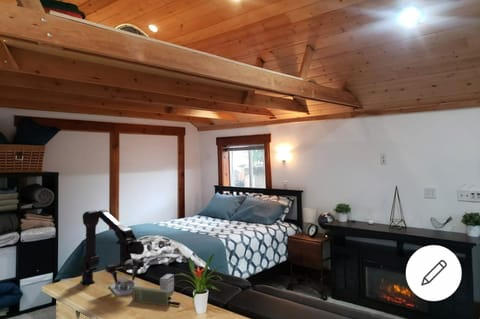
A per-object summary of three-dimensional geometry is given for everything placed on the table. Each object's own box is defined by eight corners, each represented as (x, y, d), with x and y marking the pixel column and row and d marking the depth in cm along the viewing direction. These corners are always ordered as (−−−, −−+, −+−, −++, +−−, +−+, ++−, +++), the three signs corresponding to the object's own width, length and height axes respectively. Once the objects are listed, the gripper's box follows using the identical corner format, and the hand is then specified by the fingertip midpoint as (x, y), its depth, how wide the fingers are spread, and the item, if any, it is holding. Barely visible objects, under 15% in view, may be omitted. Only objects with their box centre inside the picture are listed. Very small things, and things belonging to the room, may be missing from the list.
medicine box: (168, 296, 173) (168, 278, 173) (159, 295, 174) (159, 278, 174) (174, 290, 181) (174, 274, 181) (166, 290, 182) (166, 273, 182)
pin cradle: (109, 287, 186) (109, 280, 186) (131, 282, 193) (131, 276, 193) (117, 296, 173) (117, 289, 173) (141, 291, 180) (141, 284, 180)
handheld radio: (135, 299, 170) (181, 305, 163) (131, 301, 167) (178, 308, 160) (135, 285, 170) (181, 291, 163) (131, 288, 167) (177, 293, 160)
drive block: (116, 286, 185) (116, 279, 185) (125, 283, 188) (125, 277, 188) (124, 290, 178) (124, 283, 178) (133, 288, 182) (133, 281, 182)
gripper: (110, 258, 172) (110, 290, 171) (147, 253, 182) (147, 283, 182) (105, 254, 181) (104, 284, 180) (140, 249, 191) (140, 277, 191)
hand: (124, 282), depth 183 cm, fingers open, 8 cm apart
